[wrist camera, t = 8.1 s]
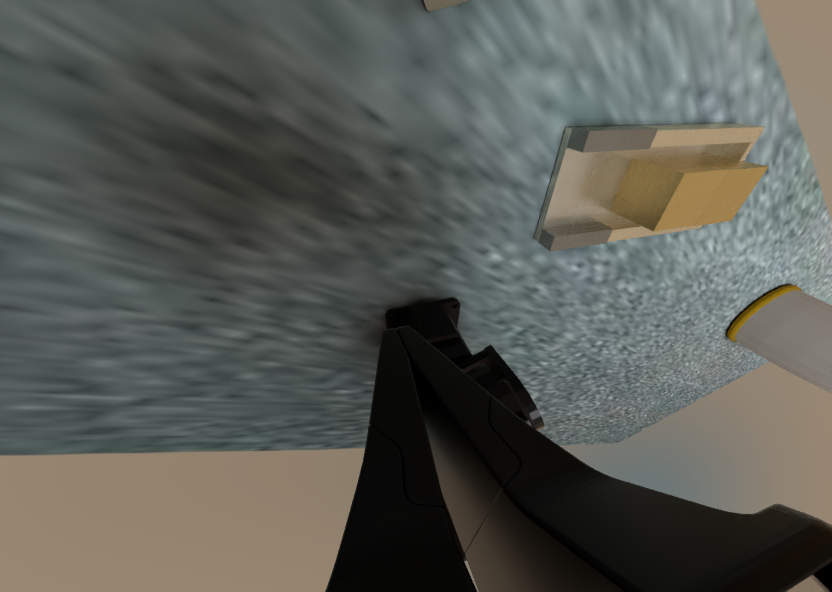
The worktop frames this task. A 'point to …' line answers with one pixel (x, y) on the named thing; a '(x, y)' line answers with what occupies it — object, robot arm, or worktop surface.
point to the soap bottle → (790, 333)
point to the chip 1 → (666, 191)
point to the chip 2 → (728, 187)
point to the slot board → (620, 175)
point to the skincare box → (441, 4)
